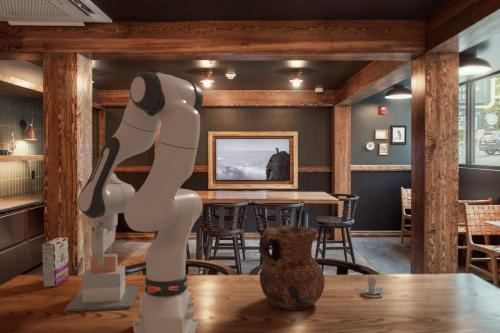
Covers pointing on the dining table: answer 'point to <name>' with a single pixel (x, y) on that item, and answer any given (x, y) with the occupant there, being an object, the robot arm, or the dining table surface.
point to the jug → (290, 268)
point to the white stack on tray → (103, 291)
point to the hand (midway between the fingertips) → (104, 261)
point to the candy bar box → (55, 261)
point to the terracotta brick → (108, 265)
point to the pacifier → (372, 289)
